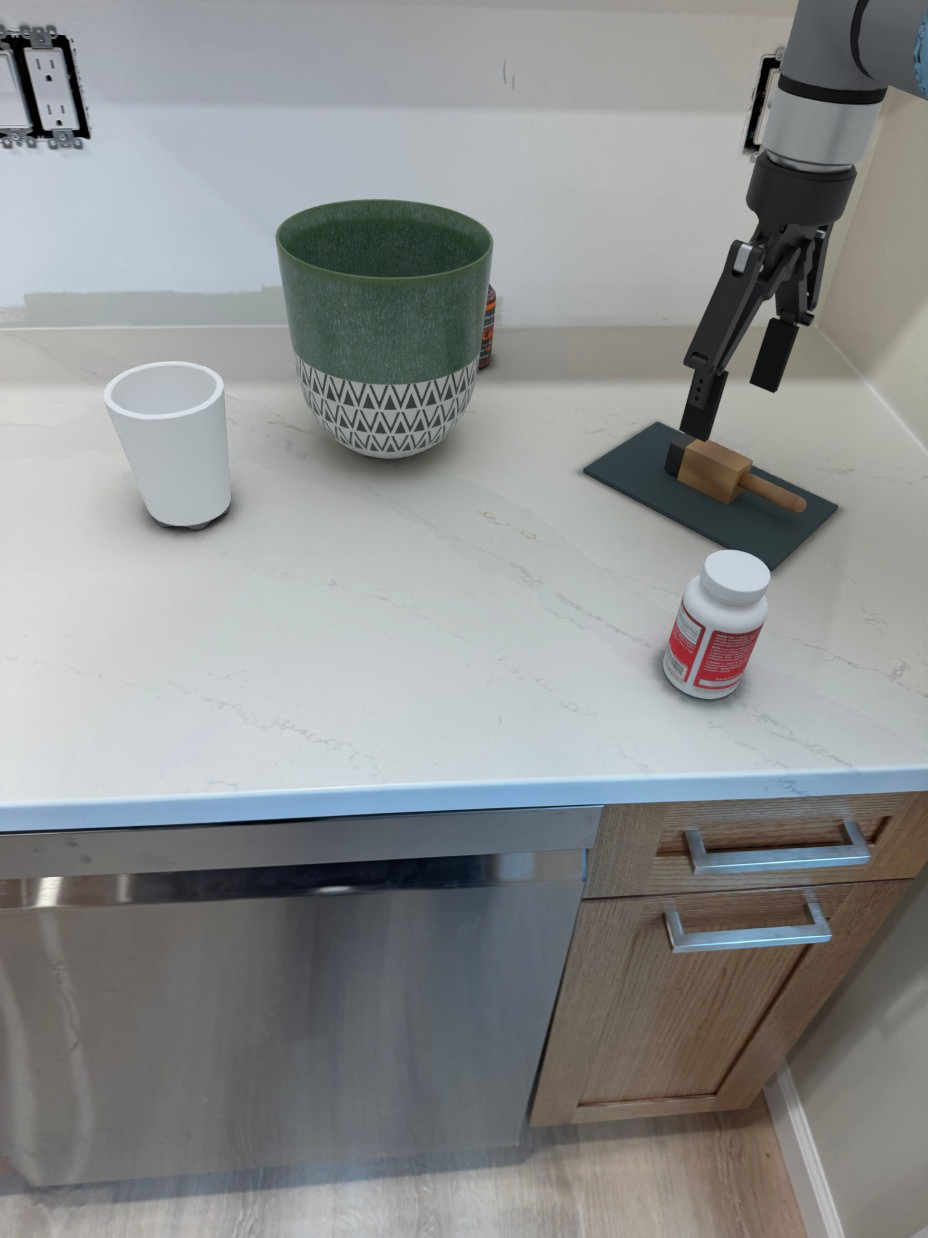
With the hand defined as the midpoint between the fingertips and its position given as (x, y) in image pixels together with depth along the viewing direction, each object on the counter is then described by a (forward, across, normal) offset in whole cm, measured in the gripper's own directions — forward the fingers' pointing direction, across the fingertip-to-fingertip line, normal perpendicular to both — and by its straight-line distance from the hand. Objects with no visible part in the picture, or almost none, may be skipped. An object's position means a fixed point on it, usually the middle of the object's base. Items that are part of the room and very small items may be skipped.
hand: (729, 409), depth 77 cm
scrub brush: (+9, -1, +2) cm, 10 cm away
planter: (+10, +17, -29) cm, 35 cm away
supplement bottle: (+10, -3, -36) cm, 38 cm away
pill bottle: (+10, +22, +13) cm, 27 cm away
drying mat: (+10, -1, 0) cm, 10 cm away
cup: (+10, +39, -33) cm, 52 cm away
